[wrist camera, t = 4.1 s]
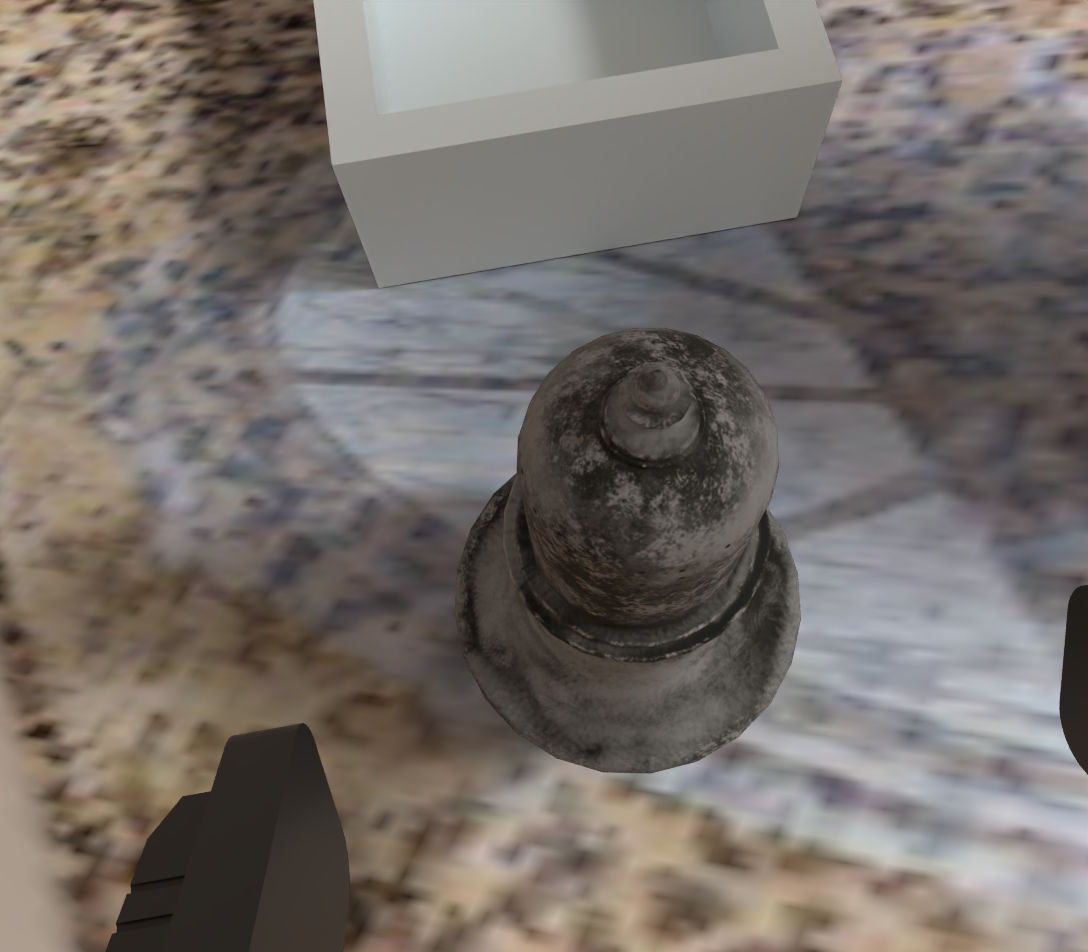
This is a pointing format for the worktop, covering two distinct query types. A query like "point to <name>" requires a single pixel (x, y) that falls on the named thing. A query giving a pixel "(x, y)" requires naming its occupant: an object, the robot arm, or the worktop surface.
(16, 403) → the worktop surface
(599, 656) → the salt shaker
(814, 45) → the sleeve
